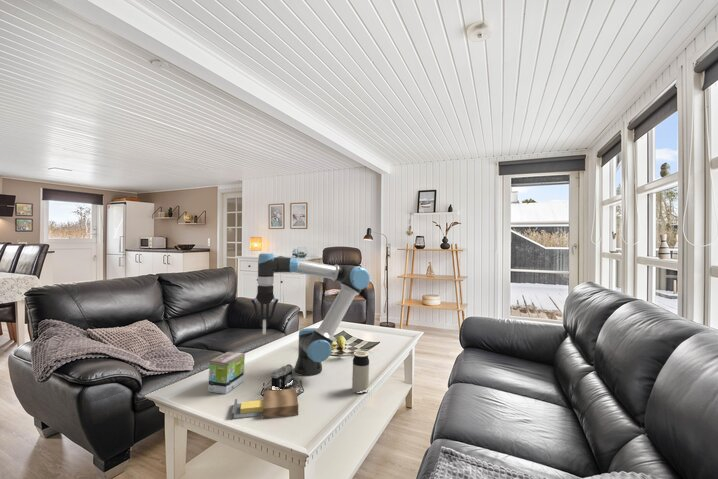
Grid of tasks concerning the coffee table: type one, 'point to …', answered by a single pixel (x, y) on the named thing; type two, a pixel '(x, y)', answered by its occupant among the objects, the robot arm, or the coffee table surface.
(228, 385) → the tea box
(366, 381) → the travel mug
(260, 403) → the yellow sticky note pad
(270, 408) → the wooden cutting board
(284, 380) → the camera
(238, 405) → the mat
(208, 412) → the coffee table surface
